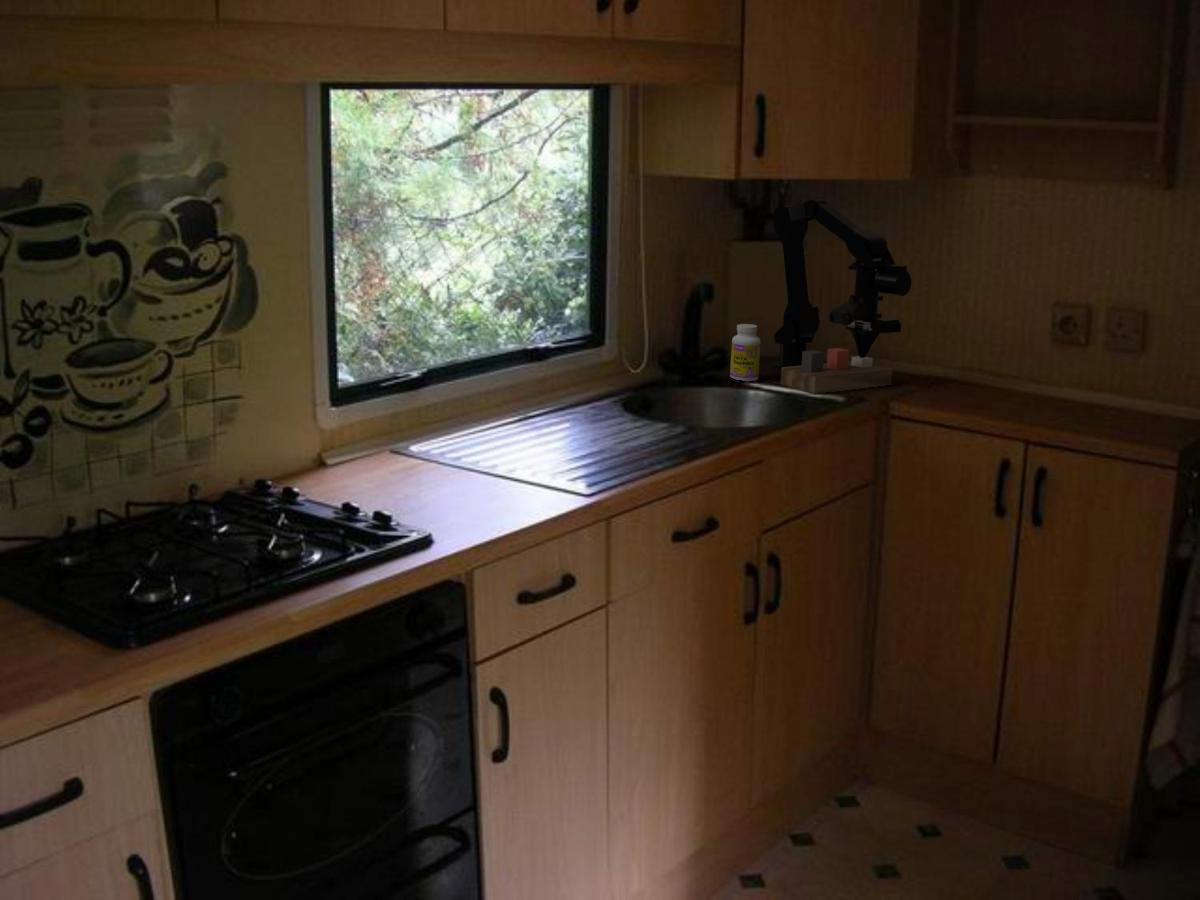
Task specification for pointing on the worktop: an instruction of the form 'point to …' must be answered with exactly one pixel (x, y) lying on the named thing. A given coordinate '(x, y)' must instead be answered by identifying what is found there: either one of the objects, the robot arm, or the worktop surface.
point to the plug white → (862, 362)
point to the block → (836, 378)
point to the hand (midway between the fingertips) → (862, 357)
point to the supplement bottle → (745, 353)
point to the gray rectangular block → (812, 361)
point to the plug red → (837, 359)
